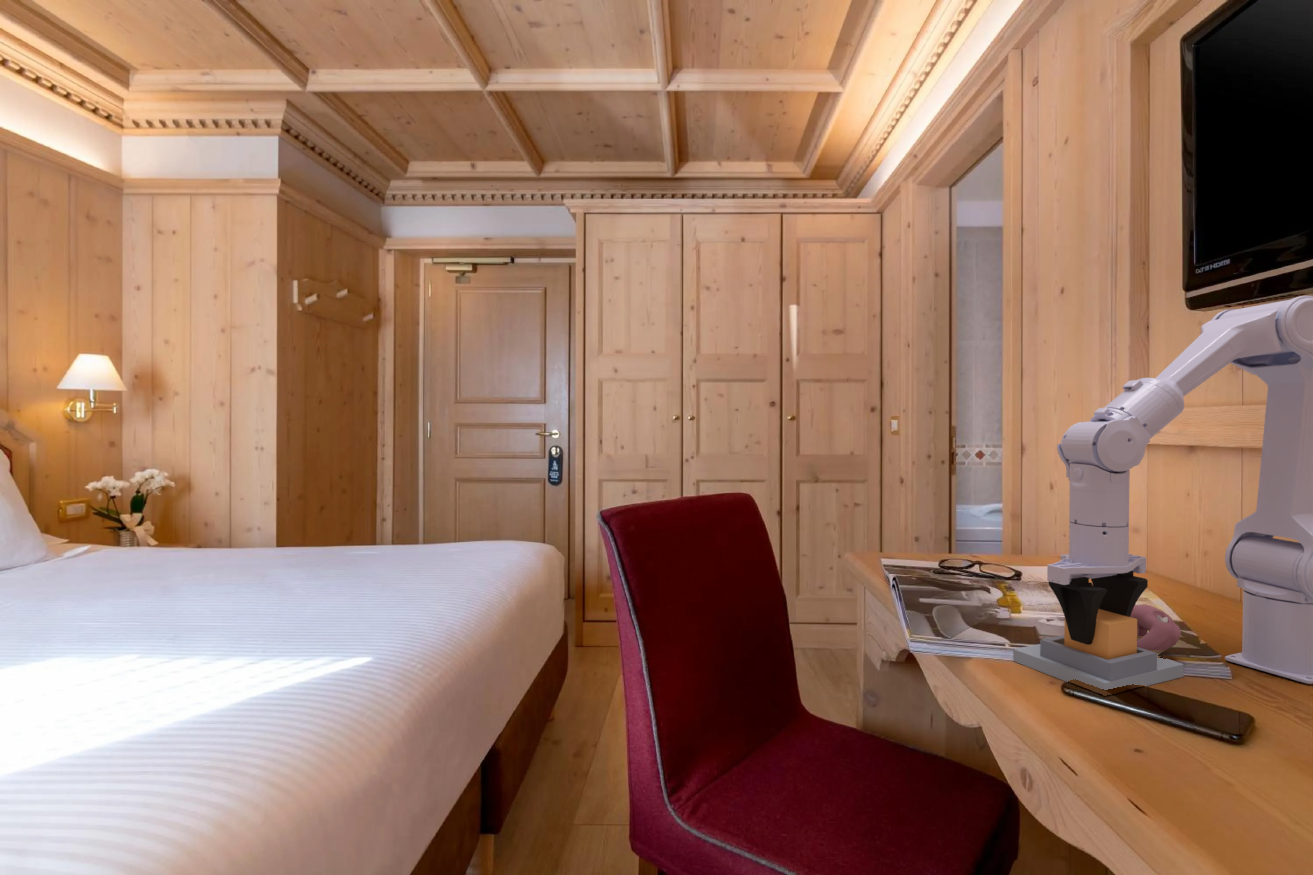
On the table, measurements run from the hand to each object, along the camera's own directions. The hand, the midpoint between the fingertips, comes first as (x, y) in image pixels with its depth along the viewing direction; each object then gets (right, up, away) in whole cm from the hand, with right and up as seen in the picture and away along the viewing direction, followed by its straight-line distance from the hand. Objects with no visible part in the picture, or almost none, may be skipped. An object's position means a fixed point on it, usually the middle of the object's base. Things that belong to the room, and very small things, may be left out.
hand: (1097, 638), depth 73 cm
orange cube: (0, -2, 0) cm, 2 cm away
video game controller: (+11, -5, +9) cm, 15 cm away
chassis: (+1, -4, +2) cm, 5 cm away
